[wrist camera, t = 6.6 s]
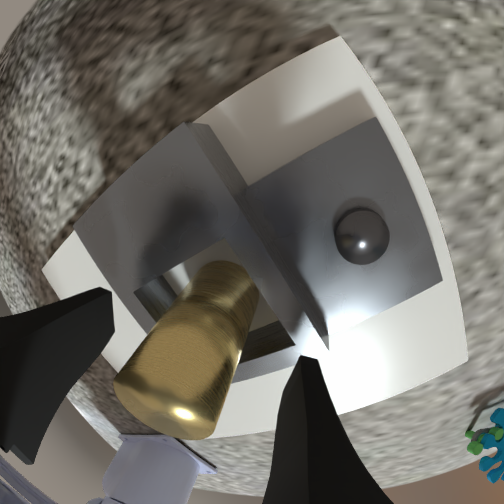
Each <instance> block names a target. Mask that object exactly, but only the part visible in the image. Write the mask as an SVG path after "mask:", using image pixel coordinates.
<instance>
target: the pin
mask: <svg viewBox="0 0 504 504" xmlns="http://www.w3.org/2000/svg"><path fill="white" fill-rule="evenodd" d="M258 302H259V289H258V288H257V286H256V285H255V283H254V282H253V280H252V279H251V277H250V276H249V274H248V273H247V271H246V270H245V268H243V267H242V266H240V265H238V264H236V263H233V262H230V261H223V260H219V261H213V262H209V263H207V264H205V265H204V266H202V267H201V268H200V269H199V270H198V272H197V273H196V274H195V275H194V277H193V278H192V279H191V280H190V282H189V283H188V284H187V285H186V287H185V288H184V289H183V290H182V292H181V293H180V294H179V295H178V297H177V298H176V299H175V300H174V302H173V303H172V304H171V305H170V307H169V308H168V309H167V310H166V312H165V313H164V314H163V315H162V317H161V318H160V319H159V321H158V322H157V323H156V324H155V326H154V327H153V328H152V330H151V331H150V332H149V333H148V335H147V336H146V337H145V339H144V340H143V341H142V342H141V344H140V345H139V346H138V348H137V349H136V350H135V352H134V353H133V354H132V356H131V357H130V358H129V359H128V361H127V362H126V363H125V365H124V366H123V367H122V369H121V370H120V371H119V373H118V374H117V375H116V377H115V378H114V382H113V386H114V390H115V393H116V395H117V397H118V399H119V400H120V402H121V403H122V405H123V406H124V407H125V408H126V409H127V410H128V411H129V412H130V413H131V414H132V415H133V416H134V417H136V418H137V419H138V420H140V421H141V422H142V423H144V424H145V425H147V426H149V427H151V428H152V429H154V430H156V431H158V432H161V433H163V434H166V435H168V436H171V437H175V438H179V439H185V440H201V439H205V438H208V437H209V436H211V435H212V434H213V433H214V430H215V428H216V425H217V422H218V419H219V417H220V414H221V411H222V408H223V405H224V402H225V400H226V397H227V394H228V391H229V388H230V385H231V382H232V379H233V377H234V374H235V371H236V368H237V365H238V362H239V359H240V356H241V353H242V350H243V347H244V344H245V341H246V338H247V335H248V332H249V329H250V326H251V323H252V320H253V317H254V314H255V311H256V308H257V305H258Z"/></svg>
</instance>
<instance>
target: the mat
mask: <svg viewBox="0 0 504 504" xmlns="http://www.w3.org/2000/svg"><path fill="white" fill-rule="evenodd" d="M373 117H377V119H378V121H379V123H380V124H381V126H382V128H383V130H384V132H385V134H386V135H387V137H388V139H389V141H390V143H391V145H392V147H393V149H394V151H395V153H396V155H397V157H398V159H399V161H400V163H401V166H402V168H403V170H404V172H405V174H406V176H407V179H408V181H409V183H410V186H411V188H412V190H413V193H414V195H415V198H416V200H417V203H418V205H419V208H420V210H421V213H422V215H423V218H424V221H425V224H426V226H427V229H428V232H429V235H430V238H431V241H432V244H433V247H434V251H435V254H436V257H437V260H438V264H439V267H440V271H441V275H442V278H443V281H441V282H440V283H438V284H436V285H434V286H432V287H431V288H429V289H427V290H425V291H423V292H421V293H419V294H417V295H415V296H413V297H411V298H409V299H407V300H405V301H403V302H401V303H399V304H397V305H395V306H393V307H391V308H389V309H387V310H385V311H383V312H381V313H378V314H376V315H374V316H372V317H370V318H368V319H365V320H363V321H361V322H358V323H356V324H354V325H352V326H349V327H347V328H344V329H342V330H340V331H337V332H335V333H332V334H330V335H329V354H326V355H323V356H320V357H318V358H316V359H318V361H319V364H320V367H321V371H322V374H323V377H324V380H325V383H326V386H327V389H328V391H329V394H330V397H331V399H332V402H333V404H334V407H335V409H336V412H337V414H338V415H339V414H343V413H346V412H349V411H352V410H355V409H359V408H362V407H365V406H368V405H370V404H373V403H376V402H379V401H382V400H384V399H387V398H389V397H392V396H395V395H397V394H400V393H402V392H404V391H407V390H409V389H412V388H414V387H416V386H418V385H421V384H423V383H425V382H427V381H429V380H431V379H434V378H436V377H438V376H440V375H442V374H444V373H446V372H448V371H450V370H451V369H453V368H455V367H457V366H459V365H461V364H463V363H464V362H466V361H468V353H467V343H466V335H465V327H464V320H463V314H462V308H461V303H460V297H459V292H458V287H457V283H456V278H455V274H454V270H453V266H452V262H451V258H450V254H449V251H448V247H447V244H446V240H445V237H444V234H443V230H442V227H441V224H440V221H439V218H438V215H437V212H436V210H435V207H434V204H433V201H432V199H431V196H430V193H429V191H428V188H427V186H426V183H425V181H424V178H423V176H422V174H421V171H420V169H419V167H418V164H417V162H416V160H415V158H414V156H413V153H412V151H411V149H410V147H409V145H408V143H407V141H406V139H405V137H404V135H403V133H402V131H401V129H400V127H399V125H398V123H397V122H396V120H395V118H394V116H393V114H392V112H391V111H390V109H389V107H388V105H387V104H386V102H385V100H384V99H383V97H382V95H381V94H380V92H379V90H378V89H377V87H376V86H375V84H374V82H373V81H372V79H371V78H370V76H369V75H368V73H367V72H366V70H365V69H364V67H363V66H362V64H361V63H360V62H359V60H358V59H357V57H356V56H355V55H354V53H353V52H352V50H351V49H350V48H349V46H348V45H347V44H346V42H345V41H344V40H343V39H342V37H341V36H339V37H336V38H334V39H332V40H330V41H327V42H325V43H323V44H321V45H319V46H317V47H315V48H313V49H311V50H309V51H307V52H305V53H303V54H301V55H299V56H297V57H295V58H293V59H291V60H289V61H287V62H286V63H284V64H282V65H280V66H278V67H277V68H275V69H273V70H271V71H269V72H268V73H266V74H264V75H263V76H261V77H259V78H258V79H256V80H254V81H253V82H251V83H249V84H248V85H246V86H245V87H243V88H241V89H240V90H238V91H237V92H235V93H234V94H232V95H231V96H229V97H228V98H226V99H225V100H223V101H222V102H220V103H219V104H217V105H216V106H214V107H213V108H212V109H210V110H209V111H207V112H206V113H204V114H203V115H202V116H200V117H199V118H198V119H196V120H195V121H194V122H192V123H201V124H208V125H209V126H210V127H211V129H212V130H213V132H214V133H215V135H216V137H217V138H218V140H219V141H220V143H221V144H222V146H223V147H224V149H225V150H226V152H227V153H228V155H229V157H230V158H231V160H232V161H233V163H234V164H235V166H236V167H237V169H238V171H239V172H240V174H241V175H242V177H243V178H244V180H245V182H246V183H247V185H248V186H249V185H251V184H252V183H254V182H256V181H257V180H259V179H261V178H262V177H264V176H266V175H267V174H269V173H271V172H272V171H274V170H276V169H278V168H279V167H281V166H283V165H285V164H286V163H288V162H290V161H292V160H293V159H295V158H297V157H299V156H300V155H302V154H304V153H306V152H308V151H309V150H311V149H313V148H315V147H317V146H318V145H320V144H322V143H324V142H326V141H328V140H330V139H331V138H333V137H335V136H337V135H339V134H341V133H343V132H345V131H347V130H348V129H350V128H352V127H354V126H356V125H358V124H360V123H362V122H364V121H366V120H368V119H370V118H373ZM219 260H223V261H230V262H233V263H236V264H238V265H240V266H242V267H243V265H242V263H241V262H240V260H239V259H238V257H237V256H236V254H235V253H234V251H233V250H232V248H231V247H230V245H229V244H228V242H227V241H226V239H225V238H223V239H222V240H220V241H218V242H217V243H215V244H213V245H211V246H210V247H208V248H206V249H204V250H203V251H201V252H199V253H198V254H196V255H194V256H192V257H191V258H189V259H187V260H186V261H184V262H182V263H181V264H179V265H177V266H176V267H174V268H172V269H170V270H169V271H167V272H165V273H164V274H162V275H163V276H164V278H165V279H166V280H167V282H168V283H169V285H170V286H171V287H172V289H173V290H174V291H175V293H176V294H177V296H178V295H179V294H180V293H181V292H182V290H183V289H184V288H185V287H186V285H187V284H188V283H189V282H190V280H191V279H192V278H193V277H194V275H195V274H196V273H197V272H198V270H199V269H200V268H201V267H202V266H204V265H205V264H207V263H209V262H213V261H219ZM243 268H244V267H243ZM42 272H43V273H44V275H45V277H46V278H47V280H48V282H49V283H50V285H51V286H52V288H53V289H54V291H55V292H56V294H57V295H58V297H59V298H60V300H63V299H65V298H68V297H71V296H74V295H76V294H79V293H82V292H85V291H88V290H90V289H94V288H97V287H102V288H104V289H107V290H109V291H111V292H112V300H113V313H114V325H115V333H114V334H113V336H112V338H111V339H110V341H109V342H108V344H107V345H106V347H105V348H104V350H103V351H102V352H101V354H102V355H103V356H104V358H105V359H106V360H107V361H108V362H109V363H110V365H111V366H112V367H113V368H114V369H115V370H116V371H117V372H118V373H119V371H120V370H121V369H122V367H123V366H124V365H125V363H126V362H127V361H128V359H129V358H130V357H131V356H132V354H133V353H134V352H135V350H136V349H137V348H138V346H139V345H140V344H141V342H142V341H143V340H144V339H145V337H146V336H147V334H146V333H145V331H144V330H143V329H142V328H141V326H140V325H139V324H138V322H137V321H136V320H135V319H134V317H133V316H132V315H131V313H130V312H129V311H128V310H127V308H126V307H125V306H124V304H123V303H122V301H121V300H120V299H119V297H118V296H117V295H116V293H115V292H114V290H113V289H112V288H111V286H110V285H109V283H108V282H107V280H106V279H105V277H104V276H103V275H102V273H101V272H100V270H99V269H98V267H97V266H96V264H95V262H94V261H93V259H92V258H91V256H90V255H89V253H88V252H87V250H86V248H85V247H84V245H83V243H82V242H81V240H80V239H79V237H78V235H77V233H76V232H75V230H74V231H73V232H72V233H71V235H70V236H69V237H68V238H67V239H66V240H65V241H64V243H63V244H62V245H61V246H60V247H59V249H58V250H57V251H56V252H55V253H54V255H53V256H52V257H51V258H50V260H49V261H48V262H47V263H46V265H45V266H44V267H43V268H42ZM278 320H279V319H278V318H277V316H276V315H275V313H274V312H273V310H272V309H271V307H270V306H269V304H268V303H267V301H266V300H265V298H264V297H263V295H262V294H261V292H260V291H259V302H258V305H257V308H256V311H255V314H254V317H253V320H252V323H251V326H250V329H249V332H250V331H252V330H255V329H258V328H260V327H263V326H265V325H268V324H270V323H273V322H275V321H278ZM294 367H295V365H294V366H291V367H288V368H285V369H282V370H279V371H275V372H272V373H269V374H265V375H262V376H259V377H255V378H251V379H248V380H244V381H240V382H236V383H233V384H231V385H230V388H229V391H228V394H227V397H226V400H225V402H224V405H223V408H222V411H221V414H220V417H219V419H218V422H217V425H216V428H215V430H214V433H213V434H212V435H211V436H209V437H208V438H220V437H229V436H238V435H245V434H252V433H259V432H265V431H271V430H276V423H277V415H278V410H279V406H280V401H281V397H282V393H283V389H284V387H285V385H286V383H287V381H288V379H289V377H290V375H291V373H292V371H293V369H294ZM208 438H205V439H208Z"/></svg>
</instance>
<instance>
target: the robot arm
mask: <svg viewBox="0 0 504 504" xmlns="http://www.w3.org/2000/svg"><path fill="white" fill-rule="evenodd" d="M114 333H115V325H114V313H113V300H112V292H111V291H109V290H107V289H104V288H102V287H97V288H94V289H90V290H88V291H85V292H82V293H79V294H76V295H74V296H71V297H68V298H65V299H63V300H60V301H57V302H55V303H52V304H49V305H46V306H43V307H39V308H36V309H33V310H30V311H27V312H23V313H19V314H15V315H10V316H6V317H0V448H1V449H2V450H3V451H4V452H5V453H7V452H8V451H9V450H11V451H12V452H13V453H14V454H15V455H16V456H17V457H18V458H19V459H20V460H21V461H23V462H24V463H25V464H28V465H31V464H34V461H35V458H36V455H37V452H38V449H39V447H40V444H41V441H42V439H43V437H44V435H45V432H46V430H47V428H48V426H49V424H50V422H51V420H52V418H53V417H54V415H55V413H56V411H57V409H58V408H59V406H60V404H61V403H62V401H63V400H64V398H65V396H66V395H67V393H68V392H69V391H70V389H71V388H72V387H73V385H74V384H75V383H76V382H77V381H78V379H79V378H80V377H81V376H82V375H83V374H84V372H85V371H86V370H87V369H88V368H89V367H90V365H91V364H92V363H93V362H94V361H95V360H96V358H97V357H98V356H99V355H100V354H101V352H102V351H103V350H104V348H105V347H106V345H107V344H108V342H109V341H110V339H111V338H112V336H113V334H114ZM118 437H119V439H121V440H122V441H123V443H122V445H121V447H120V448H119V450H118V452H117V453H116V455H115V457H114V458H113V460H112V462H111V464H110V465H109V467H108V469H107V471H106V472H105V474H104V476H103V481H102V484H103V490H104V492H105V494H106V496H105V498H104V499H102V498H95V499H91V500H90V501H88V503H87V504H187V501H188V499H189V497H190V494H191V491H192V489H193V486H194V483H195V481H196V478H197V476H198V473H201V474H216V473H217V470H216V469H215V468H214V467H212V466H211V465H209V464H208V463H206V462H205V461H204V460H202V459H201V458H199V457H198V456H197V455H195V454H194V453H193V452H191V451H190V450H189V449H187V448H186V447H185V446H183V445H182V444H181V443H180V442H178V441H177V440H176V439H175V438H173V437H171V436H168V435H125V434H120V435H119V436H118ZM0 475H1V476H2V477H3V478H4V479H5V480H6V481H7V482H8V483H9V484H10V485H11V486H12V487H13V488H15V489H16V490H17V491H18V492H19V493H20V494H21V495H22V496H24V497H25V498H26V499H27V500H28V501H30V502H31V503H32V504H58V503H56V502H55V501H54V500H52V499H51V498H49V497H48V496H47V495H45V494H44V493H43V492H42V491H40V490H39V489H38V488H36V487H35V486H34V485H33V484H32V483H30V482H29V481H28V480H27V479H26V478H24V477H23V476H22V475H21V474H20V473H19V472H18V471H16V470H15V469H14V468H13V467H12V466H11V465H10V464H9V463H8V462H7V461H6V460H5V459H4V458H3V457H2V456H1V455H0ZM19 493H17V492H16V491H15V490H14V489H12V488H11V487H10V486H8V485H7V484H6V483H5V482H3V481H2V480H1V479H0V504H30V503H28V502H27V500H25V498H23V497H22V496H21V495H20V494H19ZM262 504H394V503H393V502H392V501H391V500H390V499H389V498H388V497H387V496H386V495H385V493H384V492H383V491H382V489H381V488H380V487H379V485H378V484H377V483H376V481H375V480H374V479H373V477H372V476H371V475H370V473H369V472H368V471H367V469H366V467H365V466H364V464H363V463H362V461H361V460H360V458H359V456H358V455H357V453H356V451H355V449H354V448H353V446H352V444H351V442H350V440H349V438H348V436H347V434H346V432H345V430H344V428H343V426H342V424H341V421H340V419H339V417H338V414H337V412H336V409H335V407H334V404H333V402H332V399H331V397H330V394H329V391H328V389H327V386H326V383H325V380H324V377H323V374H322V371H321V367H320V364H319V361H318V359H316V358H312V357H308V356H304V355H300V356H299V358H298V361H297V363H296V365H295V367H294V369H293V371H292V373H291V375H290V377H289V379H288V381H287V383H286V385H285V387H284V389H283V393H282V397H281V401H280V406H279V410H278V415H277V423H276V432H275V441H274V450H273V458H272V466H271V472H270V477H269V481H268V485H267V488H266V492H265V496H264V499H263V503H262Z"/></svg>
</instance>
